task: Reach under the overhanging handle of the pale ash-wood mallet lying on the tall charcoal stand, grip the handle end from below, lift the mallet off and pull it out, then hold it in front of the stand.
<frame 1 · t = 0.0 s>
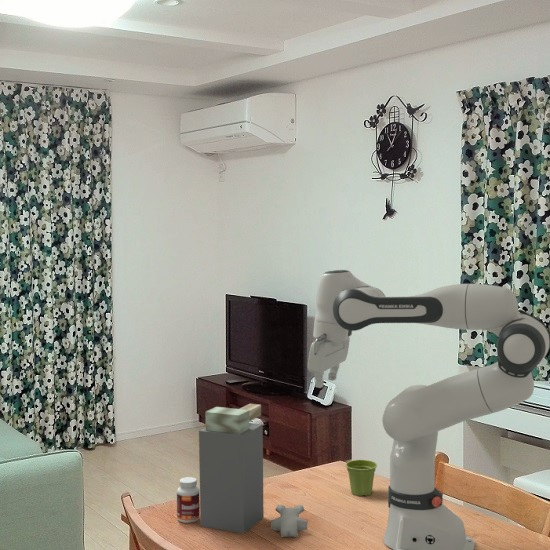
hand: (325, 383, 208), 39 cm above the table, tool pointing down, fingers open, 8 cm apart
plant pot: (361, 493, 237), on the table
mallet: (239, 423, 218), point 26 cm above the table, touching stand
grey soft figure: (289, 529, 211), on the table
pill bottle: (188, 519, 218), on the table
stand: (232, 521, 216), on the table
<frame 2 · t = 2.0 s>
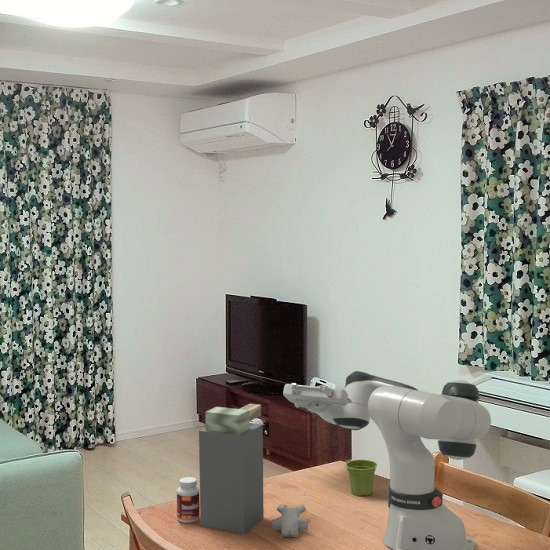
hand: (307, 386, 241), 31 cm above the table, tool pointing upward, fingers open, 8 cm apart
nothing on the table moved.
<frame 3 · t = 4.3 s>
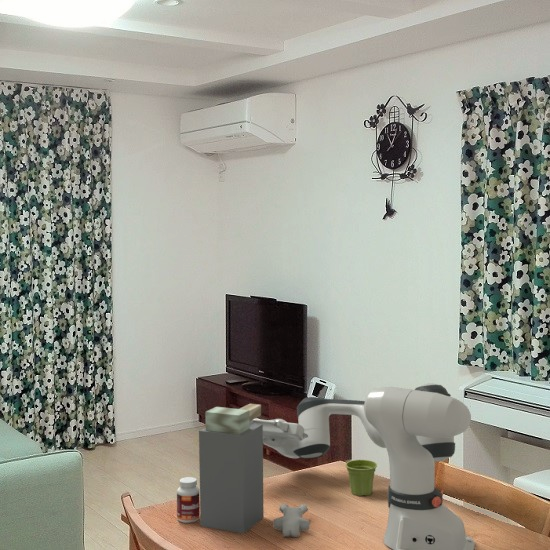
hand: (261, 421, 233), 23 cm above the table, tool pointing upward, fingers open, 8 cm apart
nothing on the table moved.
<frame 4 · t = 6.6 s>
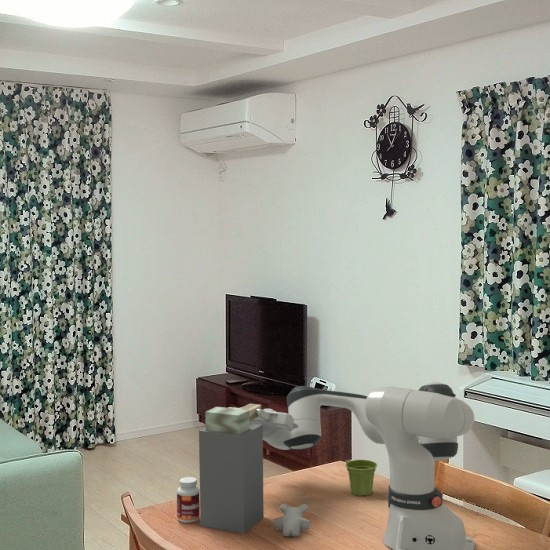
hand: (249, 410, 224), 28 cm above the table, tool pointing upward, fingers closed on mallet, 3 cm apart
mallet: (239, 423, 218), point 26 cm above the table, touching gripper, stand
everything else where it was.
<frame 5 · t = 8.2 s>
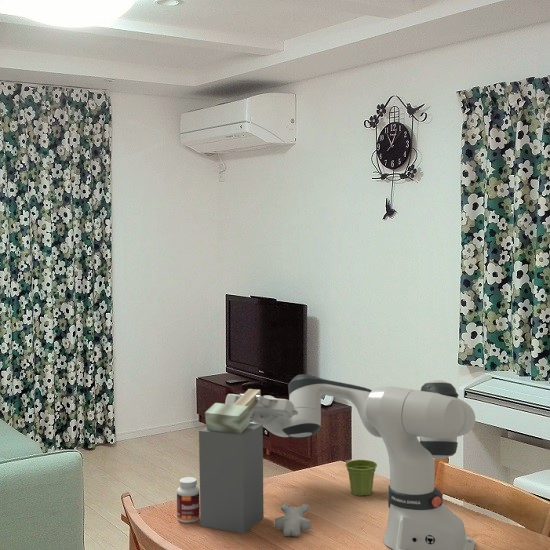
hand: (249, 397, 224), 32 cm above the table, tool pointing upward, fingers closed on mallet, 3 cm apart
mallet: (240, 414, 219), point 28 cm above the table, tilted 13°, touching gripper, stand
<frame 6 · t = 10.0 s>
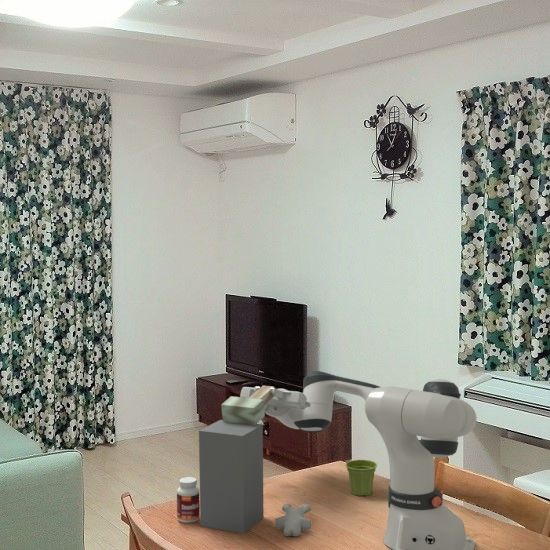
hand: (264, 389, 232), 32 cm above the table, tool pointing upward, fingers closed on mallet, 3 cm apart
mallet: (254, 408, 227), point 28 cm above the table, tilted 10°, touching gripper, stand
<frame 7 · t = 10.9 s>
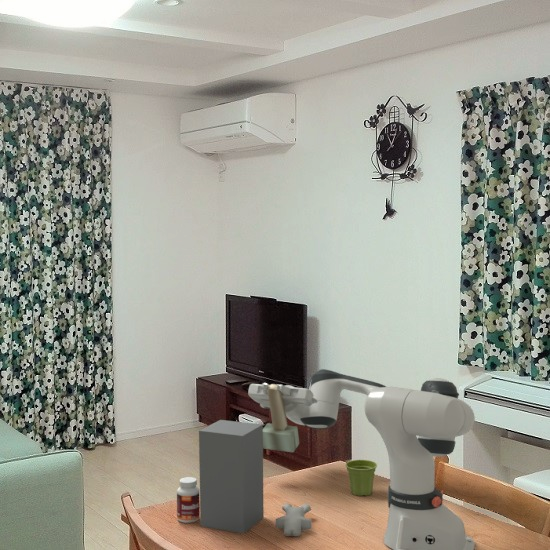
hand: (271, 386, 237), 32 cm above the table, tool pointing upward, fingers closed on mallet, 3 cm apart
mallet: (280, 413, 244), point 22 cm above the table, tilted 107°, touching gripper
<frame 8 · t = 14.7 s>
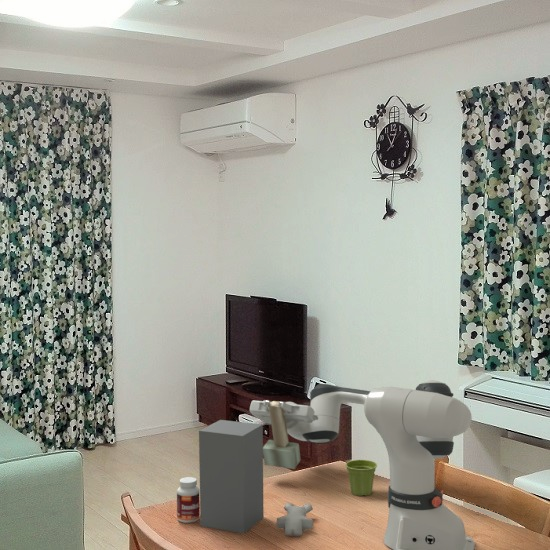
hand: (273, 403, 239), 26 cm above the table, tool pointing upward, fingers closed on mallet, 3 cm apart
mallet: (282, 430, 245), point 17 cm above the table, tilted 106°, touching gripper
at the end: the gripper is holding mallet; mallet touching gripper; mallet moved 30.1 cm from its start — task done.
